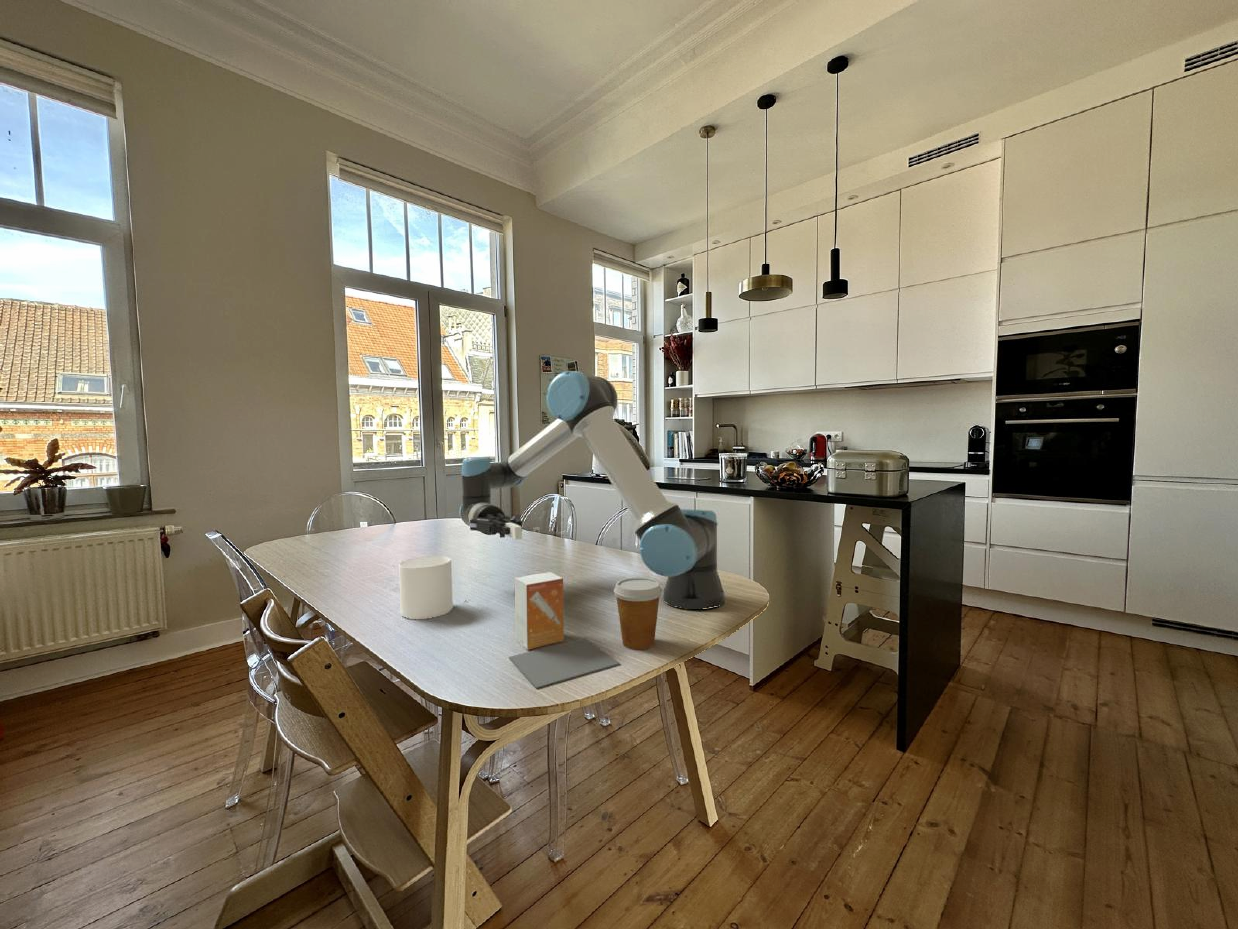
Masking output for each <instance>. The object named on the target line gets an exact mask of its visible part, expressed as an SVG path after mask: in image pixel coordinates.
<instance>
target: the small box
mask: <svg viewBox="0 0 1238 929" xmlns="http://www.w3.org/2000/svg"><path fill="white" fill-rule="evenodd" d="M514 609H515V610H514V612H515V613H514V614H515V616H514V617H515V619H514V620H515V623H514V624H515V625H514V626H515V640H516V642H517V643H519V644H520V645H521V646H522V647H523V648H524V649H526V651H528V650H529V651H530V650H532V649H536V648H540V647H544V646H548V645H552V644H558V643H561V642H562V643H563V642H564V641H565V635H564V634H565V632H564V629H565V628H564V622H565V621H564V618H565V617H564V616H565V615H564V578H563V577H562V576H560V575H558V574H555V573H554V572H552V571H548V572H541V573H535V574H529V575H524V576H520V577H519V576H518V577H514Z"/></svg>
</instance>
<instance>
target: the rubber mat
mask: <svg viewBox="0 0 1238 929" xmlns="http://www.w3.org/2000/svg"><path fill="white" fill-rule="evenodd" d="M508 659H509V660H510V661H511V663H512V664H513V665H514V666H515V668H516V669H517V670H519V672H520V673H521V674H522V676H524V678H526V679H527V681H528V682H529V683H530V684H531V685H532V686H533V687H534V688H535V690H538V689H541V687H542V688H545V687H549V686H552V685H555V684H558V683H562V682H565V681H568V680H571V679H576V678H578V677H579V678H580V677H582V676H586V675H589V674H592V673H595V672H599V671H603V670H606V669H610V668H612V667H616V666H619V665H621V662H619V661H618V660H616V659H615V658H614V657H613V656H611V655H610V654H608V653H607V652H605V651H604V650H603V649H602V648H600V647H598V646H597V645H596V644H594V643H593V642H592V641H591V640H589V639H588V638H586V637H584V638H580V639H576V640H571V641H569V642H568V641H567V642H564V643H563V642H562V643H560V644H556V645H550V646H547V647H542V648H540V649H535V650H532V651H527V652H524V653H519V654H516V655H511V656H509V657H508ZM551 684H552V685H551ZM537 688H538V689H537Z"/></svg>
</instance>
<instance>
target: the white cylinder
mask: <svg viewBox="0 0 1238 929" xmlns="http://www.w3.org/2000/svg"><path fill="white" fill-rule="evenodd" d="M452 572H453V571H452V559H451V558H449V557H446V556H437V555H435V556H423V557H415V558H414V557H413V558H411V559H407V560H404V561H401V562H400V563H399V565H398V576H399V577H398V578H399V579H398V580H399V602H400V603H399V604H400V605H399V606H400V607H399V608H400V609H399V610H400V616H401V615H402V616H404V617H406V618H405V619H407V618H409V620H415V619H416V620H428V619H427V618H429V619H433V618H432V617H434V618H438V617H442V616H443V615H446V614H448V613H450V612H452V610H453V605H454V603H453V576H452ZM441 615H442V616H441ZM402 616H401V617H402ZM437 616H438V617H437ZM404 617H403V618H404Z"/></svg>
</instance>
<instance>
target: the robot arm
mask: <svg viewBox="0 0 1238 929" xmlns="http://www.w3.org/2000/svg"><path fill="white" fill-rule="evenodd" d="M545 402H546V406H547V408H548V411H549V413H550V414H551V415H552V416H553V417H554V418H556V419H555V420H554V421H552V422H551V423H550V424H548V425H547V426H546V427H545V428H543V429H541V431H539V433H537V434H536V435H535V436H533V437H532V438H531V439H529V440H528V441H527V442H526V443H525V444H523V445H522V446H521V447H519V448H518V449H517V450H515V451H514V452H513V453H512V454H510V455H509V456H508V457H507V458H505V459H504V460H503V461H501V462H496V463H495V462H492V463H491V460H490V458H489V457H485V456H483V457H478V456H477V457H476V456H475V457H474V456H473V457H466V458H463V460H462V465H461V481H462V483H461V484H462V485H461V486H462V490H461V491H462V498H461V499H462V500H461V501H462V504H461V505H460V507H459V512H458V514H459V517H460V519H461V521H462V522H463V523H464V524H465V525H467V526H468V527H469V530H470V531H476V532H480V533H481V534H484V535H486V536H494V535H497V534H499V538H501V539H503V538H505V537H506V536H508V538H509V537H510V538H511V539H514V540H522V539H523V537H522V532H523V521H522V519H521V515H519V514H517V515H514V516H512V518H511V516H509V515H506V514H505V513H504V510H502V509H501V508H500V507H498V506H496V505H493V504H491V502H492V500H491V498H492V495H491V494H492V493H491V492H492V491H491V490H498V489H506V488H509V489H510V488H515V487H517V486H521V485H523V484H524V482H525V480H526V479H527V476H529V474H530V473H532V472H533V471H534V470H535V469H537V468H539V467H540V466H541V465H543V464H544V463H545V462H547V461H548V460H549V459H550V458H552V457H553V456H554V455H556V454H557V453H559V452H560V451H562V450H563V449H564V448H566V447H567V446H568V445H569V444H570V443H572V442H574V441H575V440H577V438H582V439H583V440H584V442H585V443H586V445H587V447H588V448H589V450H590V451H591V453H592V454H593V456H594V458H595V459H596V460H597V462H598V464H599V466H600V467H601V469H602V471H603V472H604V473H605V475H606V476H607V478H608V480H609V481H610V483H611V485H612V486H613V487H614V489H615V491H616V492H617V494H618V495H619V497H620V499H621V500H622V502H623V503H624V506H625V507H626V508H627V510H628V512H629V513H630V514H631V517H632V518H633V519H634V521H635V526H634V534H635V535H636V537H637V539H638V540H639V556H640V558H641V560H642V563H644V565H645V566H646V567H647V568H648V570H650V571H651V572H653V574H654V573H655V574H656V575H657V576H662V577H665V578H667V579H666V583H665V587H664V588H663V593H662V594H663V599H664V600H663V602H664V601H665V602H667V603H668V604H670V605H672V606H677V607H681V608H687V609H703V608H709V607H714V606H719V605H721V604H722V603H723V602H724V603H725V591H724V589H723V586H722V581H721V579H720V576H719V572H718V522H717V521H718V520H717V514H716V512H715V511H713V510H709V509H707V510H706V509H690V508H688V509H686V508H680V506H679V505H678V504H677V503H675V502H670V501H668V500H667V498H666V497H665V496H664V494H663V493H662V491H661V490H660V488H659V486H658V485H657V483H656V482H655V480H654V479H653V477H652V476H651V474H650V473H649V471H648V469H647V468H646V467H645V465H644V464H643V462H642V461H641V459H640V457H639V455H638V454H637V453H636V451H635V450H634V448H633V447H632V445H631V443H630V442H629V441H628V439H627V438H626V436H625V434H624V433H623V432H622V430H621V428H620V427H619V425H618V424H617V422H616V420H615V419H614V415H615V411H616V409H617V407H618V393H617V390H616V388H615V386H614V385H613V383H611V382H610V381H609V380H608V379H607V378H604V377H601V376H598V375H597V376H596V375H592V374H587V373H584V372H582V371H578V370H574V371H573V370H568V371H563V372H560V373H559V374H557V375H556V376H555V377H554V378H553V379H552V380H551V382H550V383H549V385H548V388H547V394H546V401H545ZM665 602H664V603H665ZM668 604H667V605H668ZM670 605H669V606H670ZM672 606H671V607H672ZM721 606H722V605H721ZM719 607H720V606H719ZM687 609H686V610H687Z"/></svg>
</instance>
